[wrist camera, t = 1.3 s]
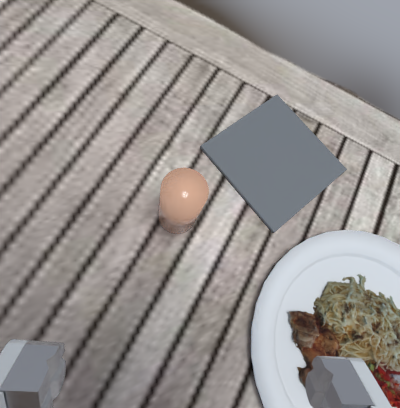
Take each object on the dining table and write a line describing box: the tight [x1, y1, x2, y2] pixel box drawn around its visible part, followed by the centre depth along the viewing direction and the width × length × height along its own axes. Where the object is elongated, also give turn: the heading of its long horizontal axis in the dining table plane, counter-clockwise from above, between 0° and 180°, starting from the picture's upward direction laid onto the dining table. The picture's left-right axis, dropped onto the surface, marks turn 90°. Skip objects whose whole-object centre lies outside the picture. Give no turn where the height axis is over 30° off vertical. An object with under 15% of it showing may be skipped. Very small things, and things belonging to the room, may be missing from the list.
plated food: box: [251, 230, 400, 408], centre depth 38 cm, size 30×30×3 cm
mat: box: [200, 95, 347, 233], centre depth 46 cm, size 16×16×1 cm
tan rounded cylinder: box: [158, 168, 209, 234], centre depth 37 cm, size 5×5×10 cm
